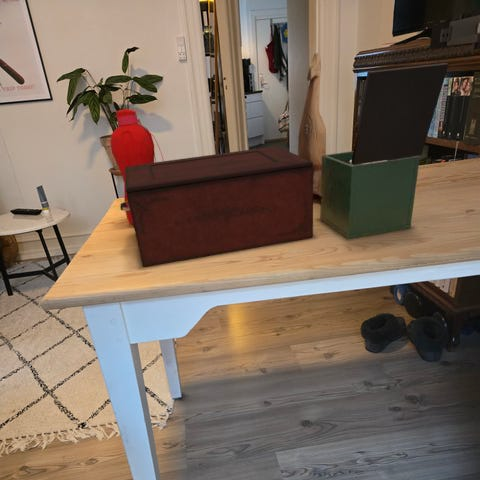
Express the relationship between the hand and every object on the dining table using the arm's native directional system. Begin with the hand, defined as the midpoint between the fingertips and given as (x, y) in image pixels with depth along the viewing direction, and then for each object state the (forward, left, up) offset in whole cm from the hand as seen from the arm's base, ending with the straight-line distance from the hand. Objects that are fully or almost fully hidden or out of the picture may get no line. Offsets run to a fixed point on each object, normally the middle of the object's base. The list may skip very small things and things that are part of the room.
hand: (435, 37), depth 57 cm
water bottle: (+59, -15, -32) cm, 69 cm away
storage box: (+38, -6, -32) cm, 50 cm away
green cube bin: (+8, -14, -32) cm, 36 cm away
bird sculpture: (+22, -35, -32) cm, 52 cm away
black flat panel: (+4, -7, -10) cm, 13 cm away
